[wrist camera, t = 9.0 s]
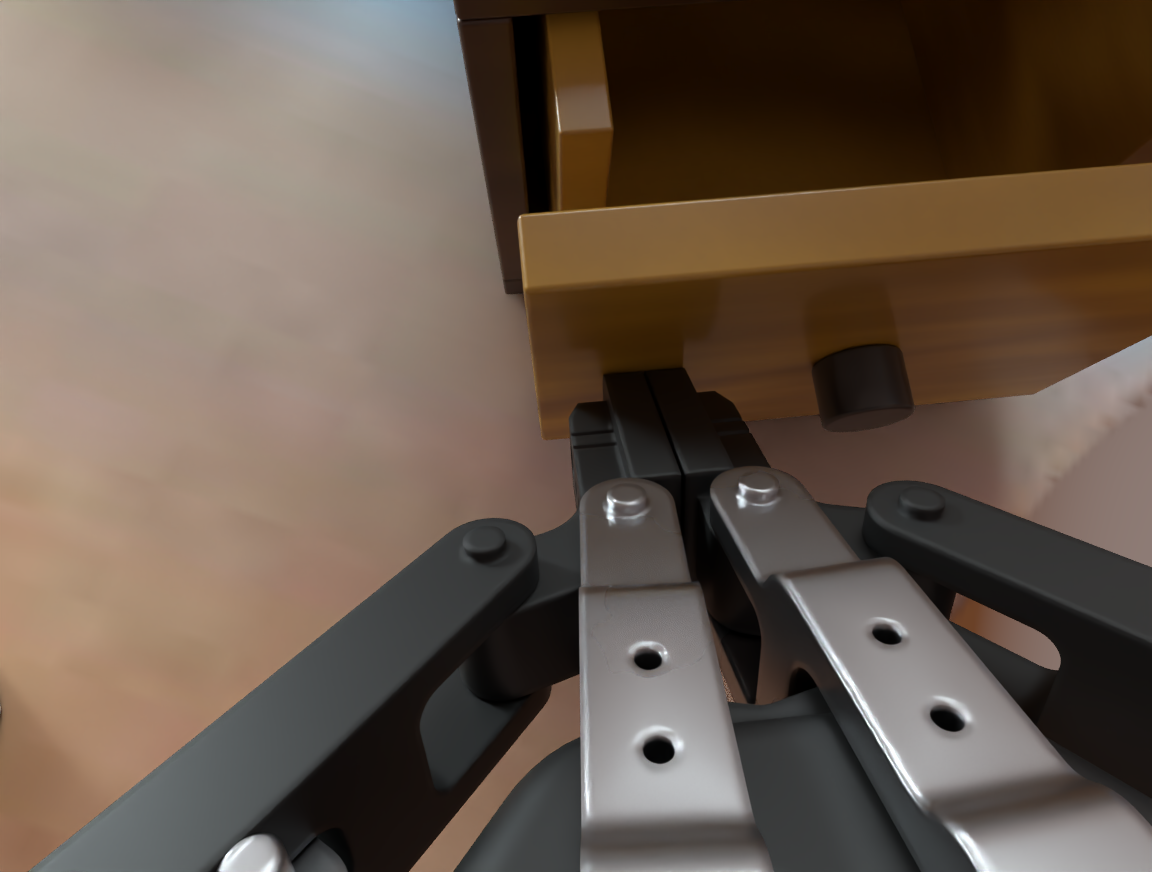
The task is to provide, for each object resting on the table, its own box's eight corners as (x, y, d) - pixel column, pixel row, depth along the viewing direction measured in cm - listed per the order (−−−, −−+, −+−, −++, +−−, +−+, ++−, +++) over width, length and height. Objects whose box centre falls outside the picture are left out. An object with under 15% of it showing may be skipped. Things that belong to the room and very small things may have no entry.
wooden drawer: (1048, 443, 17) (1426, 298, 10) (546, 492, 17) (530, 379, 9) (912, -50, 21) (1108, -433, 13) (499, -21, 20) (460, -403, 13)
